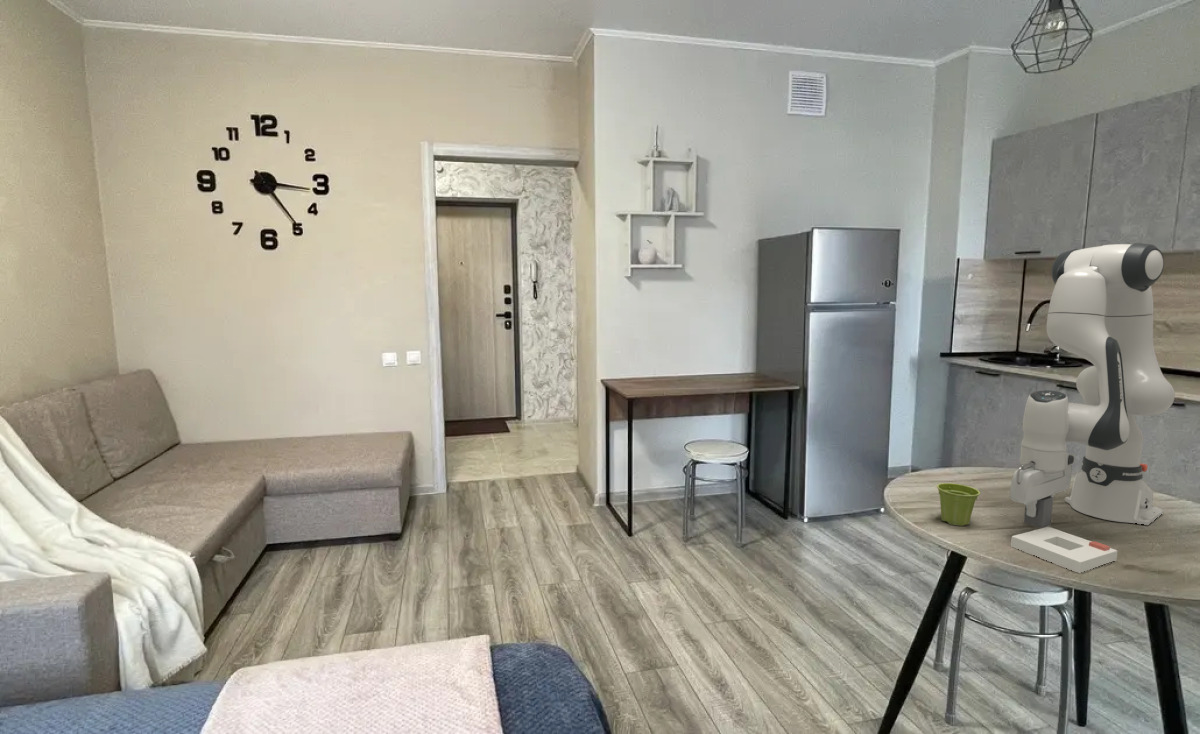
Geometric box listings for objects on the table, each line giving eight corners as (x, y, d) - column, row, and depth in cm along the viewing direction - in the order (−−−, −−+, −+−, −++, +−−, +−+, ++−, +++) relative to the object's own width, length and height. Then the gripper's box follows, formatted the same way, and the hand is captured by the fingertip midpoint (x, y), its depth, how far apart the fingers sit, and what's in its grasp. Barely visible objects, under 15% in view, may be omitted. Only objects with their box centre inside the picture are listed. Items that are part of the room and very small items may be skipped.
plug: (1032, 519, 149) (1034, 492, 148) (1050, 525, 145) (1053, 497, 144) (1023, 522, 147) (1025, 495, 146) (1041, 528, 143) (1044, 500, 142)
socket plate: (1046, 536, 144) (1048, 523, 144) (1116, 561, 132) (1117, 547, 131) (1010, 546, 139) (1012, 533, 138) (1079, 573, 126) (1081, 559, 125)
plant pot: (931, 512, 159) (934, 480, 158) (972, 517, 155) (975, 485, 154) (936, 525, 150) (940, 492, 149) (980, 531, 147) (983, 497, 146)
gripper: (1033, 469, 136) (1028, 527, 138) (1079, 455, 146) (1074, 509, 148) (1004, 462, 142) (999, 518, 144) (1049, 449, 151) (1045, 501, 153)
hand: (1037, 513), depth 146 cm, fingers closed on plug, 4 cm apart
